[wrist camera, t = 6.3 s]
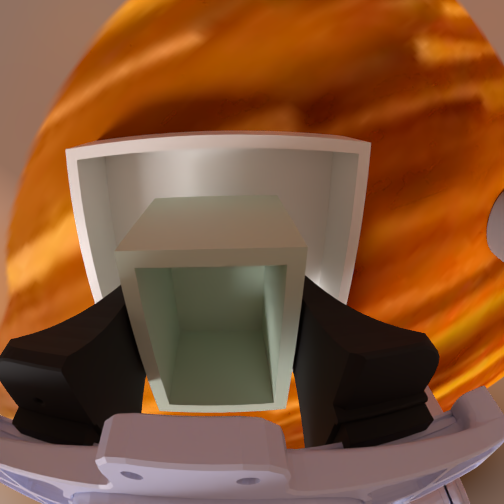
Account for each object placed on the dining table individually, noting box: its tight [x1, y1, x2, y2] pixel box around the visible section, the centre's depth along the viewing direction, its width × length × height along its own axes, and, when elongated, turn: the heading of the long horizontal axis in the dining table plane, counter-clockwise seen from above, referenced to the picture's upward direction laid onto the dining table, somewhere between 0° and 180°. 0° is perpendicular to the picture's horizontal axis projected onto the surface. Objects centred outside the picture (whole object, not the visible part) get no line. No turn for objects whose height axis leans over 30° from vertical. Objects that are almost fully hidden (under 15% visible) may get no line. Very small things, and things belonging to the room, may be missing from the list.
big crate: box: [66, 131, 371, 372], centre depth 14 cm, size 12×12×4 cm
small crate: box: [114, 195, 308, 412], centre depth 11 cm, size 7×5×5 cm
